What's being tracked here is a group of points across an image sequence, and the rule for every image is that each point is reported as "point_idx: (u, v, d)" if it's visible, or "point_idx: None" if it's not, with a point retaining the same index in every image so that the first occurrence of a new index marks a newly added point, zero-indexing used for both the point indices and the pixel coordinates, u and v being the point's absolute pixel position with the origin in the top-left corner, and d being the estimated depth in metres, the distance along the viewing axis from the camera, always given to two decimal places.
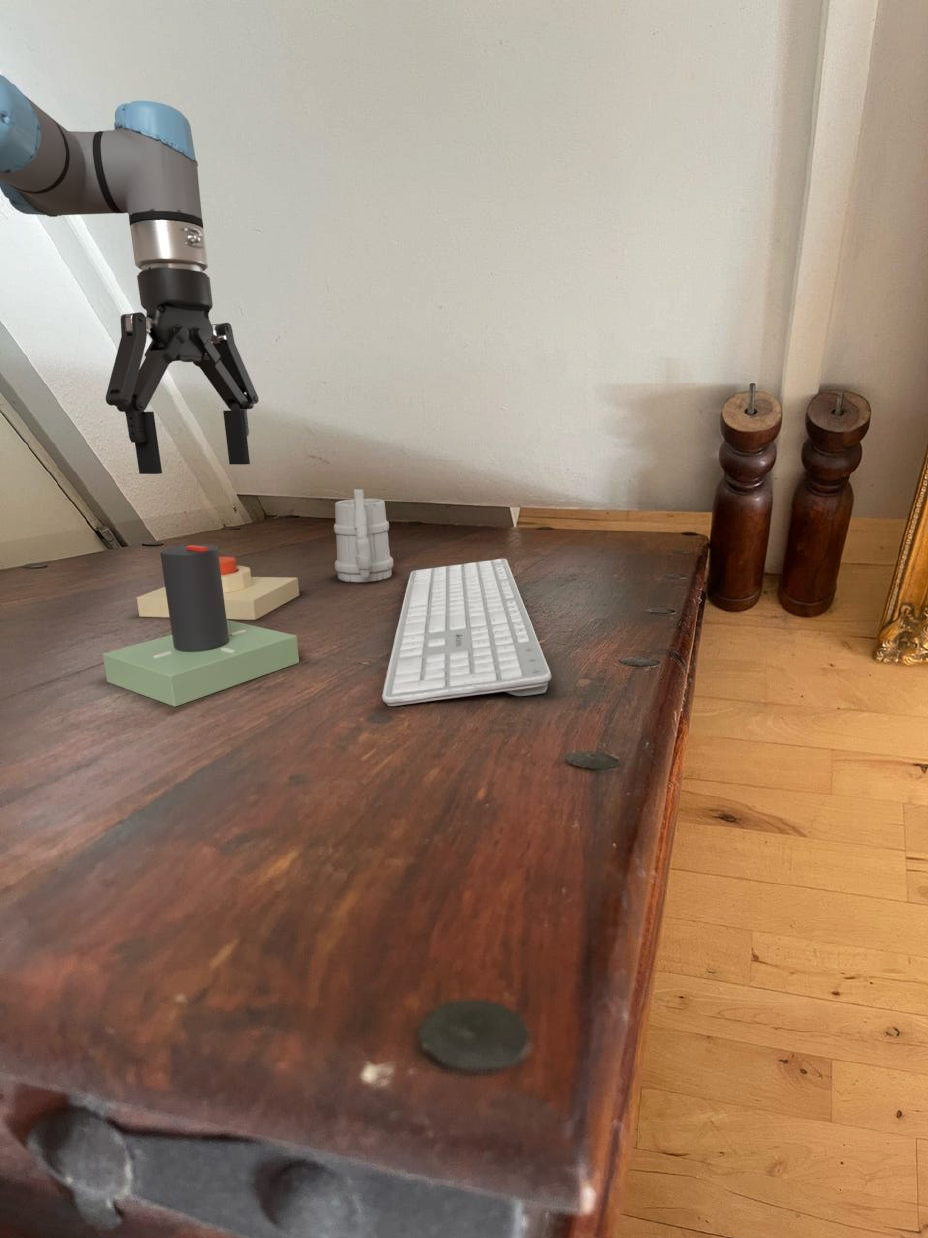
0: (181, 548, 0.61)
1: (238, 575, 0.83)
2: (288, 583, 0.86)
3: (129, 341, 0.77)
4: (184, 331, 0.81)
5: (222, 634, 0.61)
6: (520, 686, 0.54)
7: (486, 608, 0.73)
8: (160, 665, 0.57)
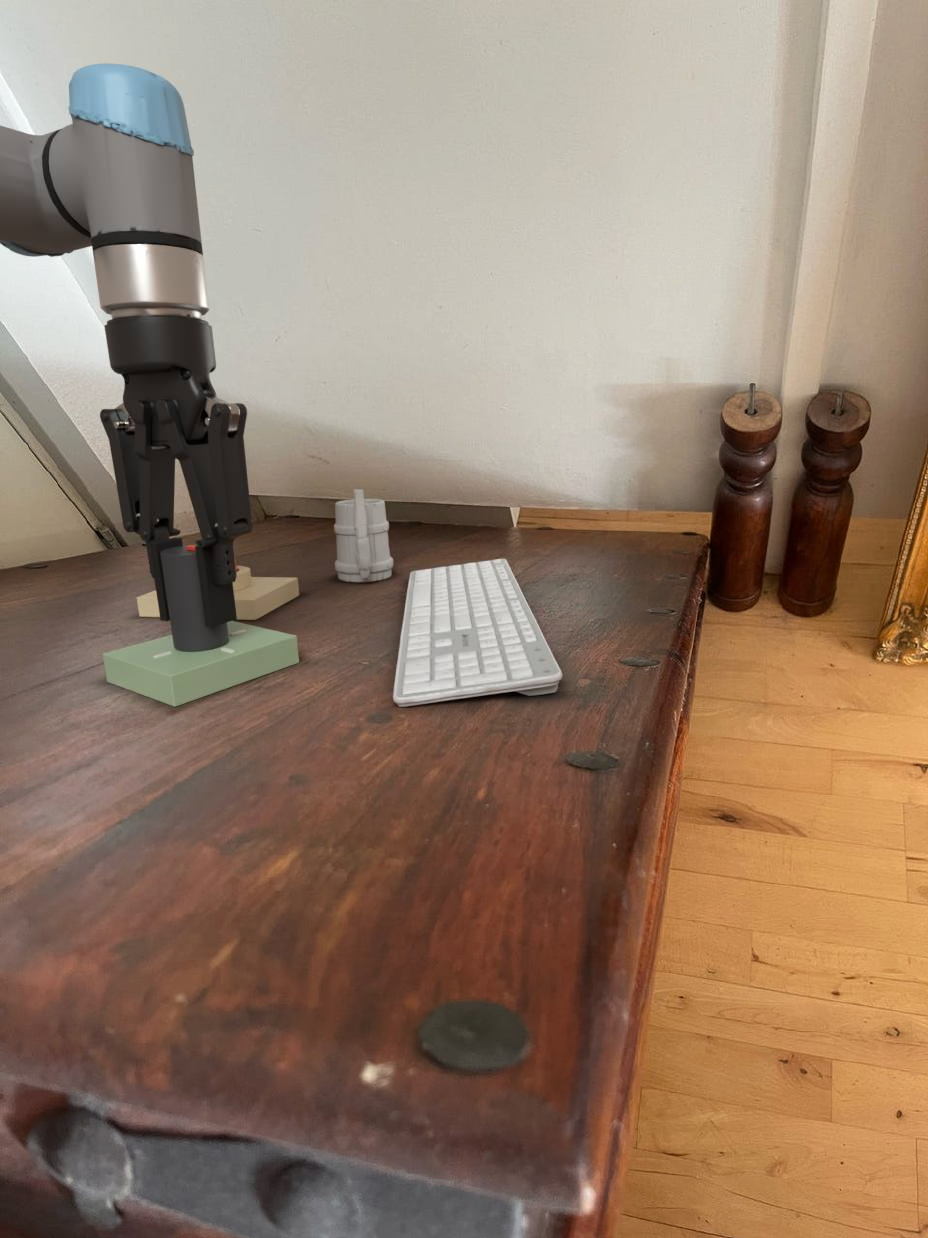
0: (181, 548, 0.61)
1: (238, 575, 0.83)
2: (288, 583, 0.86)
3: (235, 446, 0.56)
4: None
5: (222, 634, 0.61)
6: (531, 686, 0.54)
7: (490, 608, 0.73)
8: (160, 665, 0.57)
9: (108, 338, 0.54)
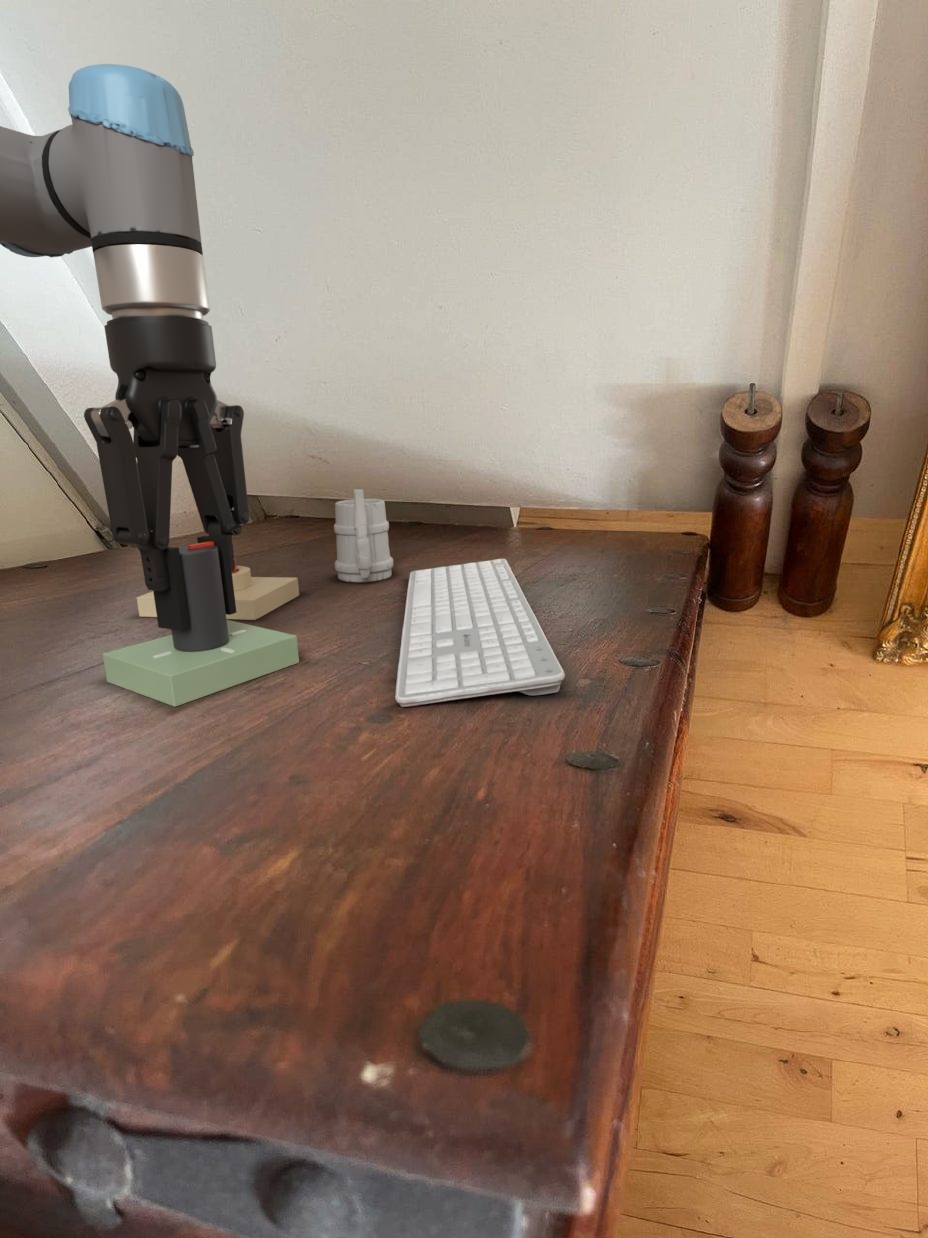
0: None
1: (238, 575, 0.83)
2: (288, 583, 0.86)
3: None
4: None
5: None
6: (534, 685, 0.54)
7: (491, 608, 0.73)
8: (160, 665, 0.57)
9: (178, 335, 0.53)
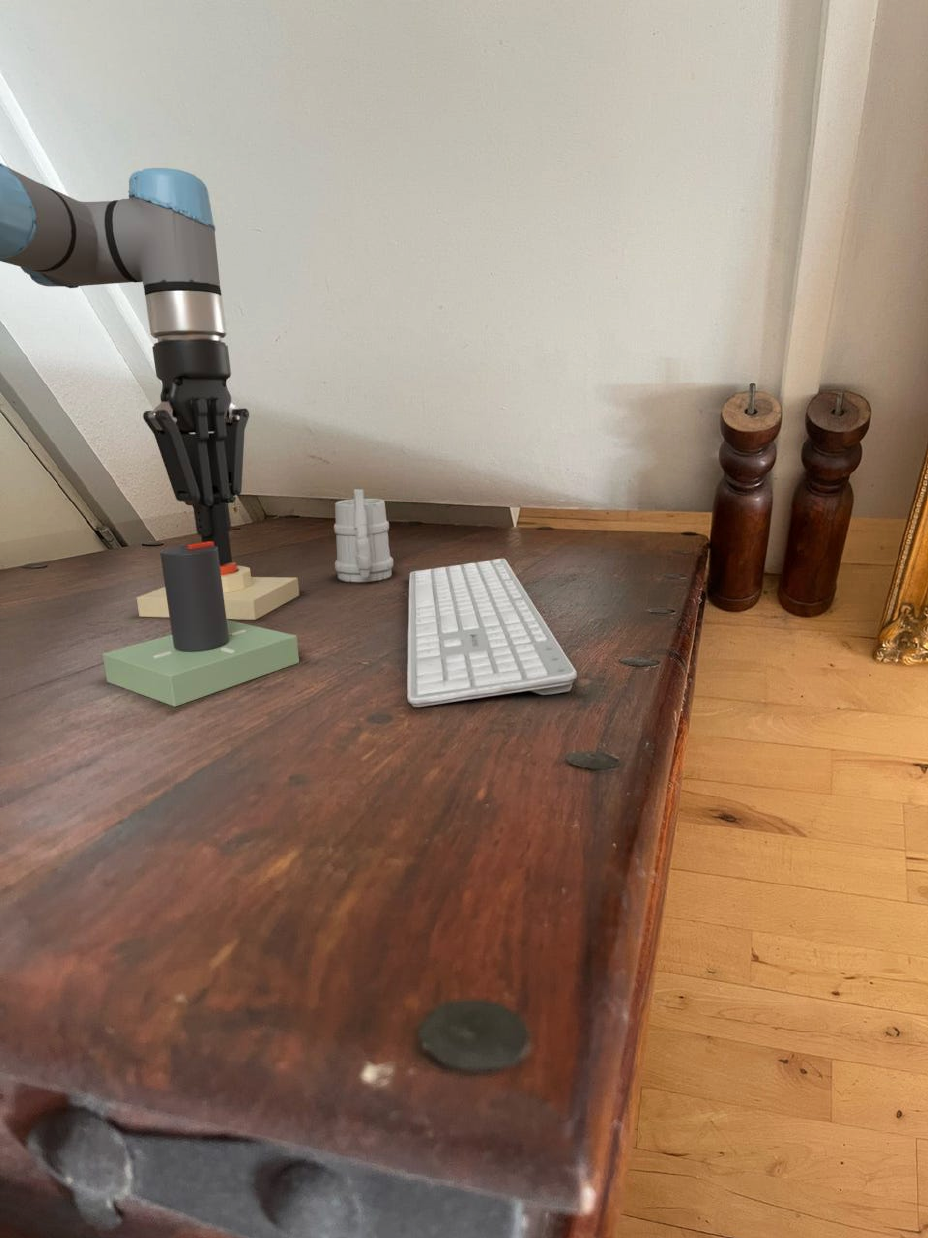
0: (178, 551, 0.59)
1: (238, 575, 0.83)
2: (288, 583, 0.86)
3: None
4: None
5: None
6: (546, 685, 0.54)
7: (495, 608, 0.73)
8: (160, 665, 0.57)
9: (205, 353, 0.76)
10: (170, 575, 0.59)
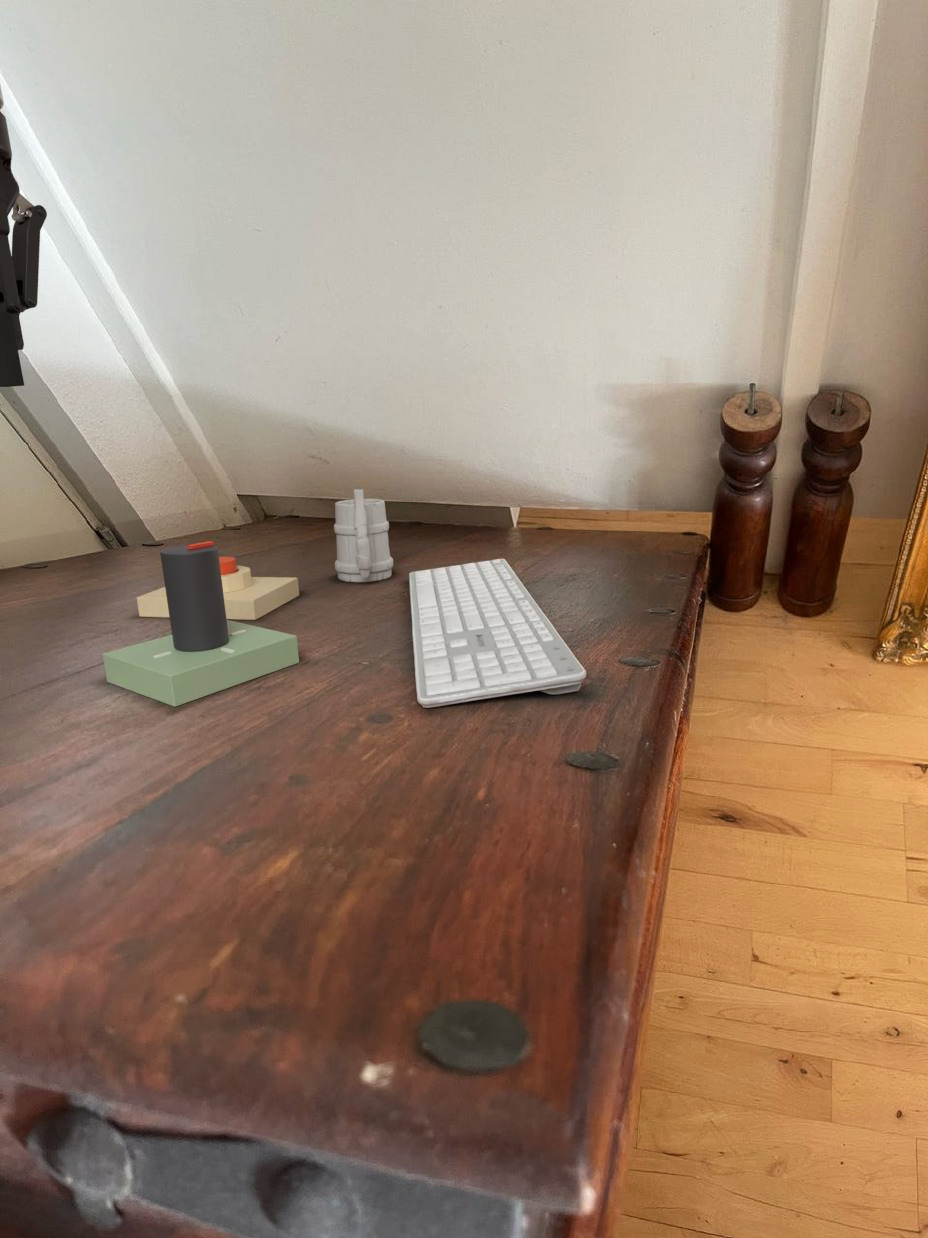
0: (178, 551, 0.59)
1: (238, 575, 0.83)
2: (288, 583, 0.86)
3: None
4: None
5: None
6: (556, 684, 0.54)
7: (499, 608, 0.73)
8: (160, 665, 0.57)
9: None
10: (170, 575, 0.59)
